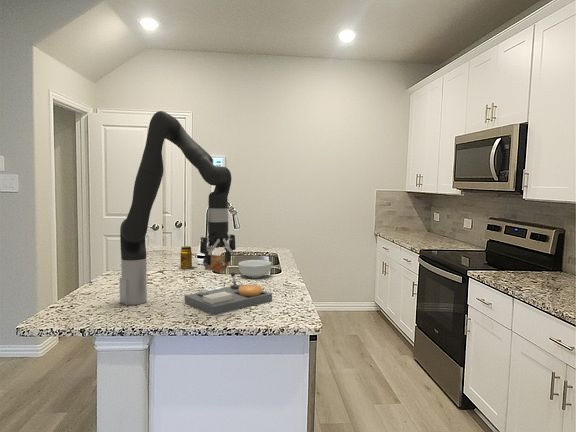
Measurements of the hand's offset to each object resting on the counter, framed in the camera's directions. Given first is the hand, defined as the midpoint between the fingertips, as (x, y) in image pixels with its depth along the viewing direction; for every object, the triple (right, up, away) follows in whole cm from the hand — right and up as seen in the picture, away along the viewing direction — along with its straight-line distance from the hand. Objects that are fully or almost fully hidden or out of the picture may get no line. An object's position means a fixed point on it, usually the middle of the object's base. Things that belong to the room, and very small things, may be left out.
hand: (218, 263), depth 156 cm
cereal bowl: (+9, -13, +56) cm, 58 cm away
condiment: (-29, -11, +73) cm, 79 cm away
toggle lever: (+4, -12, +19) cm, 22 cm away
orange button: (+11, -13, +12) cm, 21 cm away
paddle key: (0, -14, +1) cm, 14 cm away
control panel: (+3, -16, +9) cm, 19 cm away
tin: (-13, -12, +69) cm, 71 cm away
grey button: (-7, -13, +8) cm, 17 cm away
